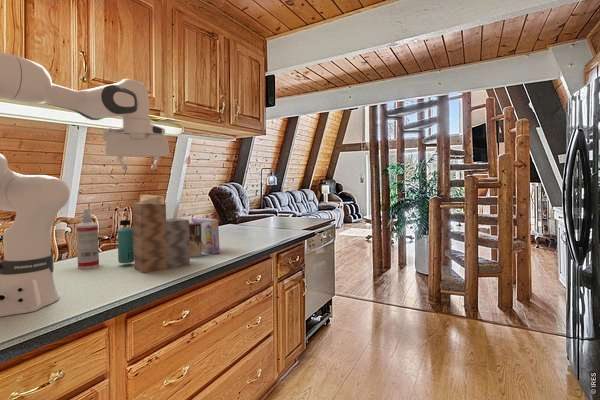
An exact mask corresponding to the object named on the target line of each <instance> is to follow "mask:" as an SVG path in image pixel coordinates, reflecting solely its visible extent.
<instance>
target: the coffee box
mask: <svg viewBox="0 0 600 400" xmlns="http://www.w3.org/2000/svg"><path fill="white" fill-rule="evenodd" d="M189 246H190V258H196V257H198V258H199V257H202V256H203V252H202V246H201V224H200V223H192V222H191V223H190V222H189Z"/></svg>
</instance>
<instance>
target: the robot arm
mask: <svg viewBox="0 0 600 400" xmlns="http://www.w3.org/2000/svg"><path fill="white" fill-rule="evenodd" d="M0 99H5V100H9V101H10V100H11V101H15V102H16V101H17V102H22V103H23V102H24V103H31V104H32V103H33V104H35V103H36V104H44V105H49V106H53V107H57V108H61V109H66V110H68V111H69V110H70V111H72V112H75V113H77V114H79V115H81V116H82V117H84V118H86V119H87V120H91V121H100V120H103V119H106V118H107V119H108V118H112V117H119V116H120V117H121V124H122V125H121V127H122V128H117V127H116V128H111V127H107V128H106V129H105V130H103V131H102V138H103V141H105V143H104V154H105V155H106V156H107V157H117V158H116V159H117V161H118V163H119V164H120V165H121V170H122V171H125V170H128V164H127V163H126V164H125V163H124V161H123V159H124V157H153V159H154V162H153V163H152V164H150V166H151V170H157V164H158V162H159V161H160V157H168V156H169V155H170V145H169V141H168V137H167V136H165V134H166V130H165V128H163V127H160V126H158V125H155V124H152V123H151V118H150V115H149V113H150V100H149V99H150V98H149V93H148V89H147V87H146V85H145V83H143V82H142V81H140V80H137V79H133V78H123V79H121V81H119V82H116V83H112V84H106V85H101V86H97V87H93V88H87V89H86V88H85V89H80V90H76V89H72V88H69V87H65V86H61V85H58V84H54V83H52V77H51V75H50V73H49V72H48V71H47V69H46V68H45V67H44V66H43V65H41V64H39V63H37V62H35V61H32V60H30V59H27V58H25V57H21V56H18V55H14V54H10V53H8V52H3V51H0ZM8 163H9V162H8V160H7V158H6V157H5V156H4V155H3V154H1V153H0V211H3V212H15V217H14V220H13V223H12V224H11V226H10V227H8V228H6V230H5V231H4V233H3V235H2V242H3V243H2V244H3V259H0V317H5V316H6V317H7V316H14V315H19V314H25V313H32V312H36V311H38V310H40V309H41V308H44V307H46V306H48V305H51V304H53V303H55V302H57V301H58V300H59V299H60V296H59V293H58V291H57V289H56V284H55V280H54V275H53V274H54V273H53V272H54V270H55V267H54V265H55V264H54V257H53V254H52V252H51V251H52V250H51V249H52V248H51V247H52V244H51V243H52V240H51V239H52V238H51V232H52V228H53V227H52V226H53V223H54V221H55V218H56V216H57V214H58V213H59V212H60V210H61V209H63V208H64V207H65V206H66V205H67V203H68V201H69V200H70V189H69V186H68V184H67V183H66V182H65V181H64V180H63V179H61V178H58V177H55V176H51V175H46V174H22V173H18V172H15V171H14V170H12V169H10V168H9V166H8Z"/></svg>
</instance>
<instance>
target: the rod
mask: <svg viewBox="0 0 600 400" xmlns="http://www.w3.org/2000/svg"><path fill="white" fill-rule="evenodd" d="M139 202H143V203H150V204H156V205H160V204H164V203H165V196H161V195H151V194H140V195H139Z"/></svg>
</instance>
